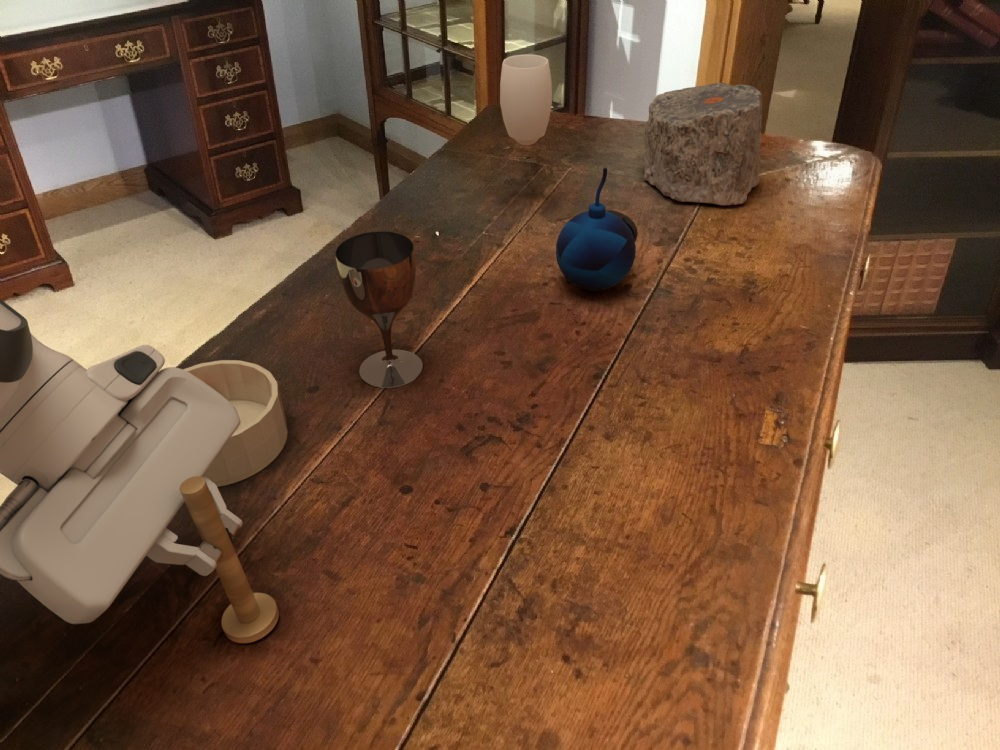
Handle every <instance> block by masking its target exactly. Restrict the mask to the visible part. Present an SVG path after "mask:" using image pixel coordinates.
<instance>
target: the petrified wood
mask: <svg viewBox="0 0 1000 750" xmlns="http://www.w3.org/2000/svg"><path fill="white" fill-rule="evenodd" d="M762 105H763V94H762V93H761V91H760V90H759V89H757V88H756V87H755V86H753V85H749V84H748V85H747V84H740V83H739V84H736V85H732V84H728V83H725V82H716V83H709V84H705V85H697V86H691V87H690V86H689V87H684V88H681V89H674V90H670V91H665V92H664V93H659V94H657V95H656V96H655V97H654V99H652V102H650V103H649V106H648V119H647V121H646V123H645V131H644V135H643V140H644V149H645V151H644V158H643V162H644V165H643V166H644V175H643V179H644V180H645V181H646V182H648V183H649V184H650V185H651V186H653V187H656V189H657V190H658V191H660V192H661V193H662V195H663V196H665V197H669V198H671V200H675V201H678V202H688V203H701V204H702V203H703V204H714V205H717V206H736V205H742V204H744V203H745V202H747V198H748V194H749V193H750V192H751V191H752V188H756V187H757V186H758V185H759V183H760V175H761V163H762V162H761V152H760V150H761V145H762V144H761V143H762V132H761V130H762V118H763V106H762Z"/></svg>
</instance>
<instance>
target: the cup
mask: <svg viewBox="0 0 1000 750" xmlns="http://www.w3.org/2000/svg"><path fill="white" fill-rule="evenodd" d="M499 84H500V85H499V105H500V110H501V115H502V121H503V124H504V127H505V129H506V133H507V135H508V136H509V137H510V138H512V139H513V140H515V141H516V143H517V144H519V145H523V146H530V145H533V144H537V141H539V139H541V138H543V137H544V136H545V135H546V131H547V129H548V128H547V127H548V125H549V122H550V118H551V111H552V106H553V84H552V74H551V67H550V61H549V59H548V58H547V57H545V56H542V55H538V54H531V53H530V54H527V53H526V54H515V55H511V56H507V57H506V58H504V59H503V61H502V64H501V72H500V82H499Z"/></svg>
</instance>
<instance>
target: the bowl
mask: <svg viewBox="0 0 1000 750" xmlns="http://www.w3.org/2000/svg"><path fill="white" fill-rule="evenodd" d="M182 369H183V370H185V371H187V372H189V373H191V374H192V375H194V376H196V377H197V378H198V379H200V380H201V381H203V382H204V383H206V384H207V385H209V386H210V387H211V388H213V389H214V390H215V391H217V392H218V393H219V394H221V395H222V396H223V397H225V398H226V399H227V400H228V401H229V402H231V403H232V404H233V405H234V407H235V408H236V410H237V412H238V415H239V417H240V421H241V423H240V425H239V426H238V428H237V429H236V431H235V432H234V433H233V435H232V436H231V438H230V439H229V440H228V442H227V443H226V444H225V446H224V447H223V449H222V450H221V451H220V453H219V454H218V456H217V457H216V458H215V460H214V461H213V463H212V464H211V465H210V467H209V468H208V470H207V471H206V472H205V474H204V476H205V477H207V478H208V479H209V480H211V481H212V482H213V483H215V484H216V486H217V488H219V487H225V486H229V485H233V484H235V483H238V482H241V481H244V480H246V479H248V478H250V477H252V476H254V475H256V474H257V473H259V472H261V471H263V470H264V469H265V468H266V467H268V466H269V465H270V464H271V463H273V462H274V461H275V460H276V459H277V458H278V456H279V455H280V454H281V452H282V451H283V449H284V447H285V445H286V443H287V440H288V435H289V434H288V433H289V431H288V429H289V428H288V424H287V423H288V422H287V416H286V412H285V408H284V404H283V401H282V400H283V399H282V397H281V392H280V388H279V384H278V381H277V380H276V378H275V377H274V375H273V373H272V372H271V371H269V370H267V369H266V368H264V367H263V366H261V365H259V364H257V363H254V362H253V363H252V362H248V361H244V360H239V359H238V360H237V359H220V360H214V361H213V360H212V361H208V362H202V363H198V364H194V365H192V366H189V367H186V368H182Z"/></svg>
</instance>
